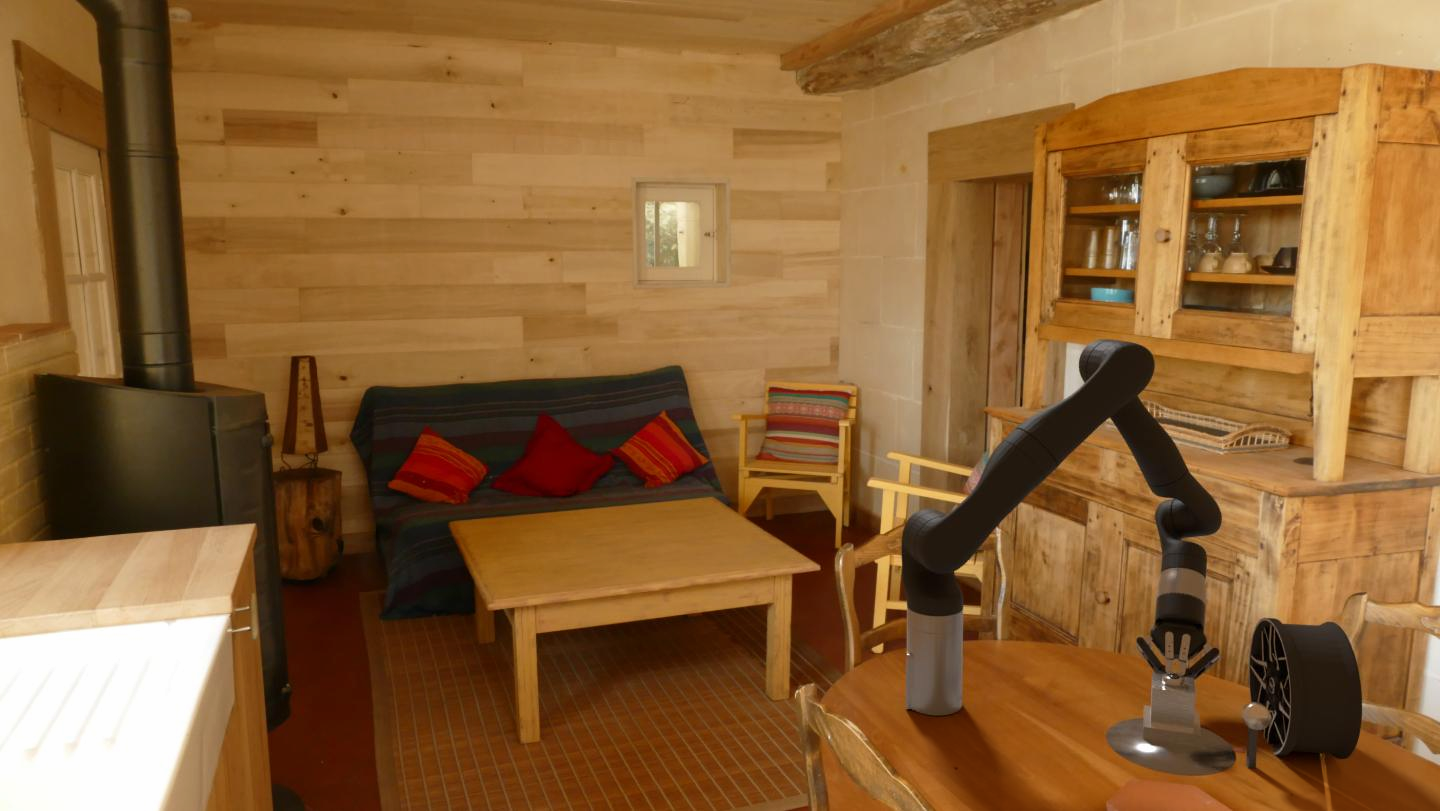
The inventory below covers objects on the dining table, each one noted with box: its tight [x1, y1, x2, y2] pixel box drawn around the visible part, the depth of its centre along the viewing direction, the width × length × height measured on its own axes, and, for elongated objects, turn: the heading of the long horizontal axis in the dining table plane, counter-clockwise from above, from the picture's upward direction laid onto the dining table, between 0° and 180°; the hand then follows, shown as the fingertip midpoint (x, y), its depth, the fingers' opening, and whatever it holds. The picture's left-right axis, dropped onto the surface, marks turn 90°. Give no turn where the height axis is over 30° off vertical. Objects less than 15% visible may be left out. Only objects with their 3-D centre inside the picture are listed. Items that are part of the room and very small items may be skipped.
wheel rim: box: [1248, 617, 1363, 760], centre depth 153 cm, size 20×9×20 cm, turn 168°
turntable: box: [1105, 717, 1246, 776], centre depth 154 cm, size 19×18×1 cm
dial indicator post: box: [1241, 701, 1272, 770], centre depth 147 cm, size 4×3×11 cm
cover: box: [1142, 672, 1202, 748], centre depth 158 cm, size 8×8×9 cm
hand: (1173, 699), depth 161 cm, fingers closed
